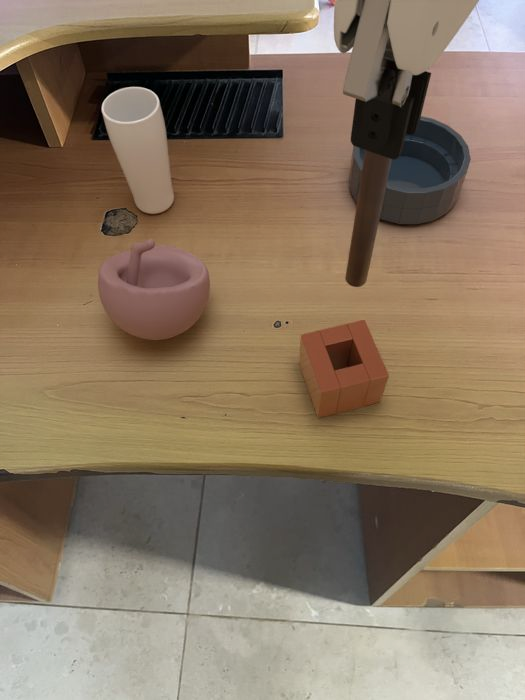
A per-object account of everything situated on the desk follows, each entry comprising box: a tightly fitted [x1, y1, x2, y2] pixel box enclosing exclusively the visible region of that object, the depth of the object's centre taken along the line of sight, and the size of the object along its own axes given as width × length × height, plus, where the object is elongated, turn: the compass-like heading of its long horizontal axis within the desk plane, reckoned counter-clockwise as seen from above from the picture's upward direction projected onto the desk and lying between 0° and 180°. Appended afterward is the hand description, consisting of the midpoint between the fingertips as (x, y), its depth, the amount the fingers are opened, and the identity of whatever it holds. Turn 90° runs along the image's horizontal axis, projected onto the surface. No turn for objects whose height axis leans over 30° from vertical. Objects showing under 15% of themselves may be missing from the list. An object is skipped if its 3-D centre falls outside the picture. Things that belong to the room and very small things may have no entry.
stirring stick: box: [344, 59, 398, 288], centre depth 40 cm, size 2×2×20 cm
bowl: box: [348, 115, 472, 225], centre depth 75 cm, size 15×15×6 cm
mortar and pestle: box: [97, 238, 211, 341], centre depth 63 cm, size 12×12×12 cm
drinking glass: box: [101, 86, 175, 215], centre depth 71 cm, size 7×7×15 cm
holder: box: [298, 318, 390, 419], centre depth 60 cm, size 7×7×6 cm
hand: (384, 136), depth 36 cm, fingers closed on stirring stick, 1 cm apart
